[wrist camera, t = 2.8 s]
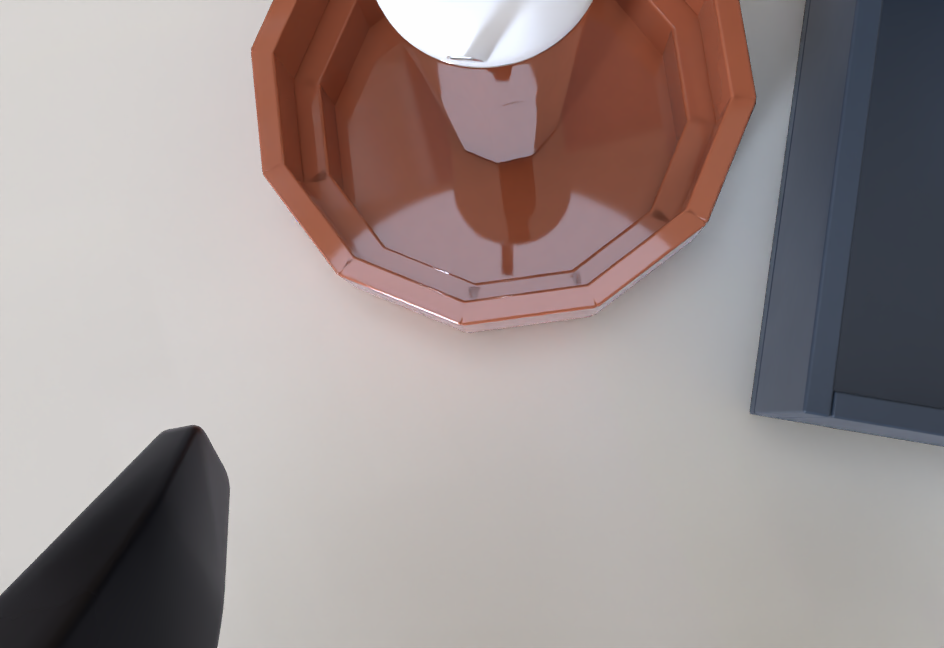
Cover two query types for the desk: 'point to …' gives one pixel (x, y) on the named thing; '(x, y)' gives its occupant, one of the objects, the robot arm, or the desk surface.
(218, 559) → the robot arm
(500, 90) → the milkshake
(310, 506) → the desk surface
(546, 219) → the bowl
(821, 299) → the bin
